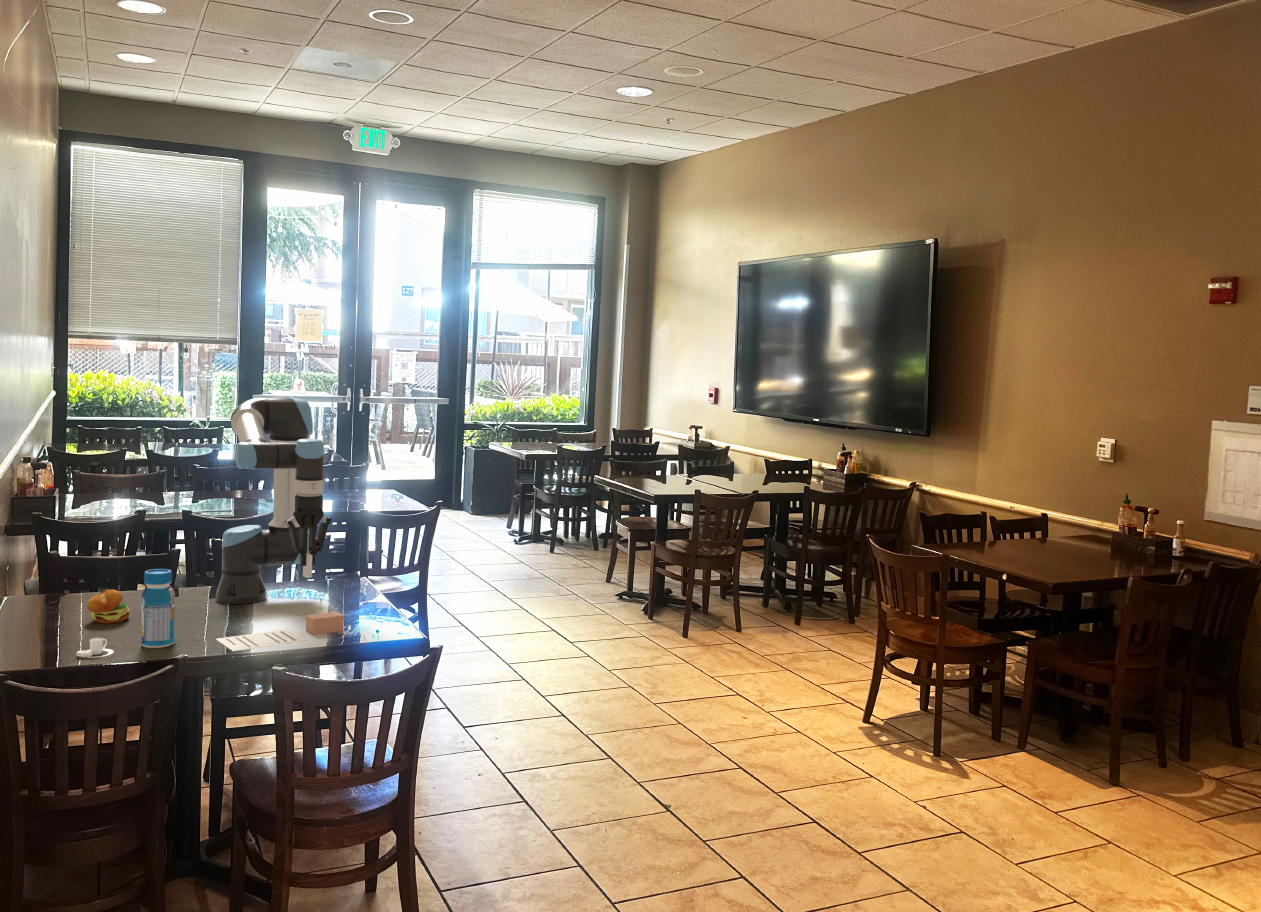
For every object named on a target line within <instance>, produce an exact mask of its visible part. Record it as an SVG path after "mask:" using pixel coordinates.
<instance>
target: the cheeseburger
mask: <svg viewBox="0 0 1261 912" xmlns="http://www.w3.org/2000/svg"><path fill="white" fill-rule="evenodd" d="M123 599H124V598H123V595H122V593H121V591H119V590H116V589H106V590H103V591H101V592H99V593H97V594H96V595H94V596H92V597H91V598H90V599H89V600H88V602H87V606H86V607H87V610H88V611H89V612H90V615H91V617H92V620H93V621H94V622H97V623H99V624H117V623H121V622H123V621H124V620H127V619H128V618H129V616H130V611H131V610H130V608H129V605H128V604H127V603H125V602H122V601H123Z"/></svg>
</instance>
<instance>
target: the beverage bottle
mask: <svg viewBox="0 0 1261 912" xmlns="http://www.w3.org/2000/svg"><path fill="white" fill-rule="evenodd" d="M143 582H144V584H145V585H146V586H145V588H144V589H143V591H142V593H141V597H140V599H141V601H142V602H141V604H140V611H141V640H140V644H141V646H143V648H149V649H163V648H167V647H170V646H172V645H175V641H176V639H175V638H176V637H175V609H176V602H175V601H174V600H175V597H176V593H175V591H174V589H173V587H172V586H171V585H170V584H172V582H173V572H172V570H171V569H168V568H167V569H166V568H155V569H154V568H153V569H148V570H145V571H144V573H143Z"/></svg>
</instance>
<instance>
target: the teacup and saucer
mask: <svg viewBox="0 0 1261 912" xmlns="http://www.w3.org/2000/svg"><path fill="white" fill-rule="evenodd" d="M104 641H105V642H104ZM107 645H108V640H107V639H106V638H103V637H93V638H91V639H89V649H87V650H78V651H77V652H76V656H77V657H80V658H87V659H95V658H96V659H97V658H103V657H104V658H105V657H107V656H111V655H113V654H114V653H115V651H114V650H113V649H112V648H111V649H109V648H106V647H107ZM103 651H104V652H107V654H103V655H101V654H102V652H103ZM93 655H96V656H93ZM97 655H98V656H97Z"/></svg>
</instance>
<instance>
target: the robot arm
mask: <svg viewBox="0 0 1261 912" xmlns="http://www.w3.org/2000/svg"><path fill="white" fill-rule="evenodd" d="M230 426H231V429H232V430H233V432H234V433H235V434H236V435H237V438H238V443H237V444H236V446H235V462H236V467H237V468H238V469H240V470H241V469H245V470H246V469H248V470H267V469H268V470H273V516H272V517H273V518H272V519H271V520H270V522H269V523H268V525H267V526H268V527H267V529H263V528H262V526H261V525H260V524H245V525H239V526H235V527H231V528H228V529H227V530H225V531H224V532H223V533H222V542H221V543H222V544H221V548H222V552H221V553H222V554H221V555H222V556H221V559H222V560H221V561H222V562H221V577H220V581H219V583H218V586H217V589H216V591H215V601H216V602H219V603H222V604H228V605H229V604H230V605H246V604H253V603H258V602H259V603H260V602H262V601H264V600H266V599H267V590H266V587H265V583H264V581H263V577H262V574H261V573H262V567H265V566H268V567H269V566H270V567H271V566H293V565H301V566H302V576H303V577H305V578H307V579H308V578H312V577H313V566H315V565H316V555H318V553H319V552H322V551H323V547H324V543H325V539H326V536H327V532H328V529H329V525H330V524H331V522H332V518H331V517H329V516H327V515H325V512H324V510H323V508H324V506H323V505H324V504H323V503H324V496H323V493H324V461H325V459H324V458H325V445H324V444H325V443H324V441H323V440H322V439H317V438H308V437H309V436H311V435H313V433H314V431H313V429H314V423H313V415H312V411H311V406H310V404H309V402H308V401H307V400H306V399H304V398H303V399H302V398H294V397H291V398H290V397H289V398H288V397H287V398H286V397H285V398H284V397H256V398H251V399H247V400H245V401H244V402H241V404H239V405H237V406H236V408H235V409H234V410H233V412H232V414H231V415H230ZM266 435H269V441H270V442H269V441H268V438H267V436H266ZM320 522H321V523H320ZM319 523H320V526H319V529H318V524H319ZM317 531H318V533H317Z"/></svg>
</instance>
